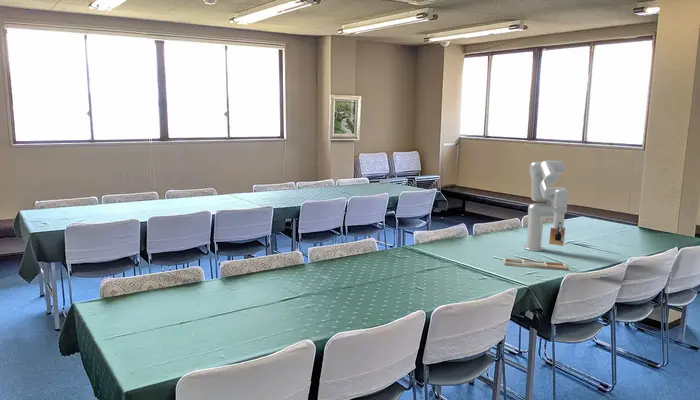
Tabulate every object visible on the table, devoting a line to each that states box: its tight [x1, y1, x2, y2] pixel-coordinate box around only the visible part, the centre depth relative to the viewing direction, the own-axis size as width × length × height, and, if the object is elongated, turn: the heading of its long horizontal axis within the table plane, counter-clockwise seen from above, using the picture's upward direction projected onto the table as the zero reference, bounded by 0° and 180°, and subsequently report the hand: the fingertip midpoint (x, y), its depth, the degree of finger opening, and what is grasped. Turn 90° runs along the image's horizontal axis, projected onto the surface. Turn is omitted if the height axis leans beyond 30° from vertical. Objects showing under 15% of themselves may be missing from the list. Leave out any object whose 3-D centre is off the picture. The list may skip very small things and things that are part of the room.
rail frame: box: [502, 257, 568, 271], centre depth 322 cm, size 10×36×2 cm, turn 77°
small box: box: [548, 225, 566, 247], centre depth 316 cm, size 8×6×10 cm
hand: (557, 238), depth 317 cm, fingers closed on small box, 6 cm apart
